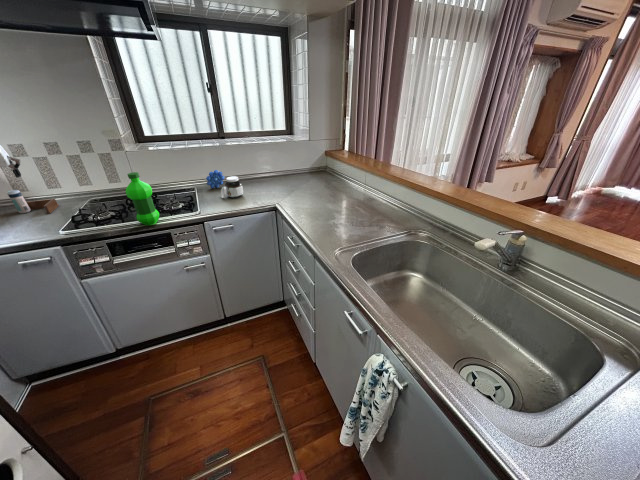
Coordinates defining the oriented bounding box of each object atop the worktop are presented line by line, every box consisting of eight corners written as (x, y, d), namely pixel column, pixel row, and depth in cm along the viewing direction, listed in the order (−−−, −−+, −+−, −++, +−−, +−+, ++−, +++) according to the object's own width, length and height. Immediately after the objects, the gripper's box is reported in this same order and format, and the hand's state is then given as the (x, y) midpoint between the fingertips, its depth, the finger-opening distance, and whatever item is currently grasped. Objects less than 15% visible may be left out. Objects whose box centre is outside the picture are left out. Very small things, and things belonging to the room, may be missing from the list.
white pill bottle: (33, 209, 147) (20, 188, 141) (29, 212, 143) (16, 191, 137) (21, 211, 145) (8, 190, 139) (17, 214, 141) (4, 193, 135)
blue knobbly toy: (225, 184, 184) (221, 167, 178) (226, 187, 178) (223, 170, 172) (207, 187, 179) (203, 169, 173) (208, 190, 174) (204, 172, 168)
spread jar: (245, 196, 165) (243, 177, 159) (231, 201, 157) (228, 182, 151) (232, 192, 170) (229, 174, 165) (218, 197, 162) (214, 179, 156)
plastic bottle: (166, 219, 136) (151, 171, 124) (151, 228, 127) (133, 177, 115) (149, 217, 138) (132, 169, 125) (133, 226, 129) (113, 176, 117)
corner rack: (13, 218, 137) (8, 210, 135) (24, 209, 147) (19, 202, 144) (50, 213, 143) (46, 205, 140) (58, 205, 152) (54, 198, 150)
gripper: (-46, 145, 120) (-22, 182, 129) (4, 142, 126) (24, 178, 134) (-35, 142, 126) (-12, 178, 135) (13, 139, 132) (32, 174, 140)
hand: (6, 177), depth 135 cm, fingers open, 9 cm apart
